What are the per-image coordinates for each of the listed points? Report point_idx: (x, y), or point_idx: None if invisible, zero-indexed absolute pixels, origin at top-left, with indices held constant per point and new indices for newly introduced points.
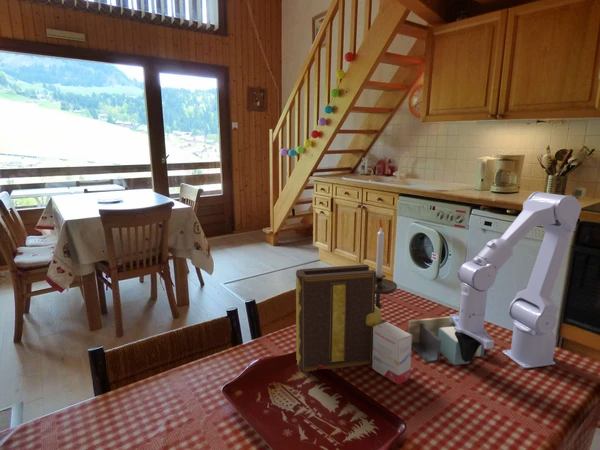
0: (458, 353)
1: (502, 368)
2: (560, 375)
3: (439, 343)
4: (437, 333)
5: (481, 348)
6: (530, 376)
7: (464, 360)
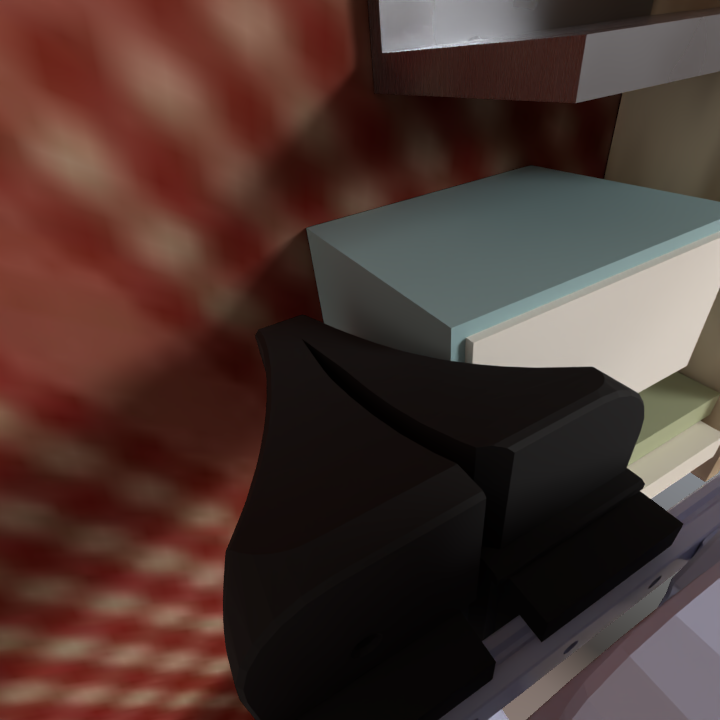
0: (364, 302)
1: None
2: (222, 712)
3: (532, 69)
4: None
5: None
6: (195, 637)
7: (262, 331)
